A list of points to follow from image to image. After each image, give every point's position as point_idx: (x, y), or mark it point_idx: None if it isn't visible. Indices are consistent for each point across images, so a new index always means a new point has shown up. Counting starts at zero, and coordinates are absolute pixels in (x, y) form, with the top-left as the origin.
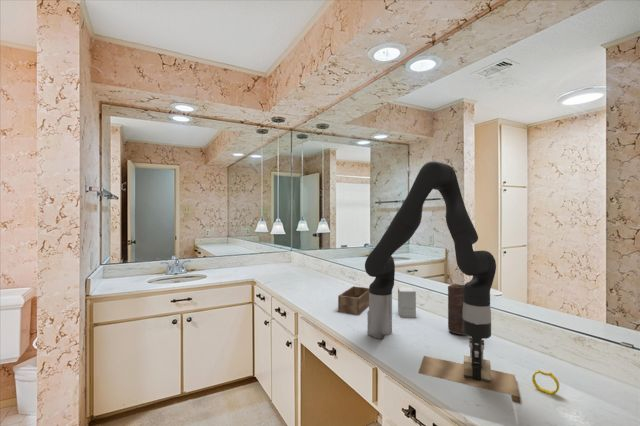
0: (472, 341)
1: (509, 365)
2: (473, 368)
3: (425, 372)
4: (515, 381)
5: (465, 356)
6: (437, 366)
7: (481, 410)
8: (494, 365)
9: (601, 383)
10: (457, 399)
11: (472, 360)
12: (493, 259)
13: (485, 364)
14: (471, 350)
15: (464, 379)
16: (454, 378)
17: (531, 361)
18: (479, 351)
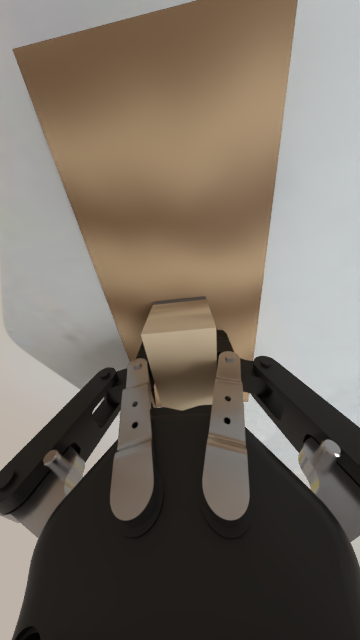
0: (30, 592)
1: (322, 381)
2: (145, 356)
3: (61, 110)
4: None
5: (203, 335)
6: (176, 168)
7: (57, 346)
8: (312, 355)
9: (286, 465)
10: (47, 294)
11: (64, 410)
12: None
13: (171, 400)
14: (121, 433)
15: (138, 306)
16: (120, 274)
17: (356, 412)
18: (18, 521)
